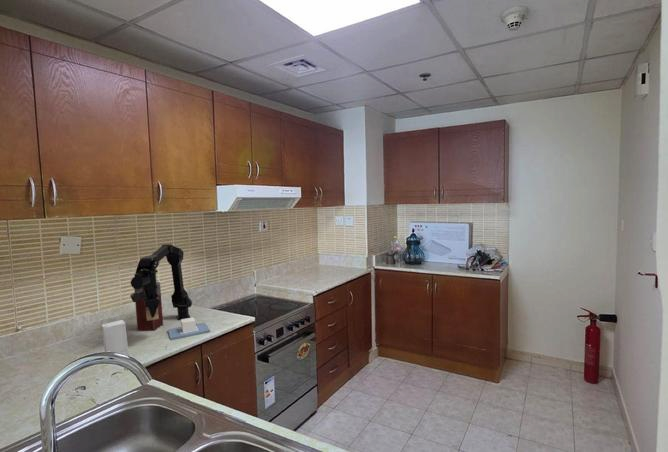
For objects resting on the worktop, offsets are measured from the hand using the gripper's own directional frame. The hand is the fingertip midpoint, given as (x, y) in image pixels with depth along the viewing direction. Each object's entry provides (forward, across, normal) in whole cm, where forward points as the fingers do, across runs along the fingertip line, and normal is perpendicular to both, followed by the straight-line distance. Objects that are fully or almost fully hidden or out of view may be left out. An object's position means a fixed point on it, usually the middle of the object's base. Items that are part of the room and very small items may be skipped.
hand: (152, 315), depth 178 cm
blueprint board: (+11, +1, +16) cm, 19 cm away
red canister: (+11, -18, -2) cm, 21 cm away
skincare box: (+11, +15, -15) cm, 24 cm away
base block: (+10, +1, +16) cm, 19 cm away
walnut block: (+1, 0, 0) cm, 1 cm away
